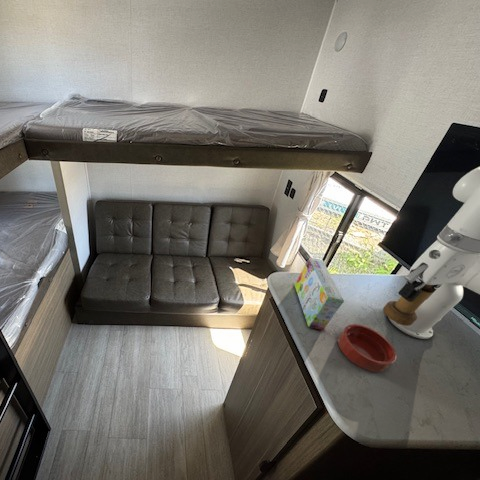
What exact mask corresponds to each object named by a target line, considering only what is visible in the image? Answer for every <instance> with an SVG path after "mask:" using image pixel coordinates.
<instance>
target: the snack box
mask: <svg viewBox="0 0 480 480" xmlns="http://www.w3.org/2000/svg"><path fill="white" fill-rule="evenodd" d="M294 288H295V291H296V294H297V298H298V300H299V303H300V306H301V309H302V313H303V315H304V319H305V322H306V324H307V327H308V328H312V329H316V330H320V331H324V329H325V328H326V326H328V324H329V322H330V321H332V318H334V316H335V315H336V313H337V311H338V310H339V309H340V307H341V306H342V305H343V304H344V303H345V299H344V297H343V295H342V293H341V292H340V289H339V288H338V286H337V285H336V282H335V281H334V278H333V276H332V274H331V273H330V271H329V269H328V267H327V265H326V263H325V262H324V260H323V259H320V258H314V257H313V258H312V257H308V258H307V261H306V262H305V264H304V266H303V268H302V270H301V272H300V274H299V275H298V278H297V280H296V281H295V284H294Z"/></svg>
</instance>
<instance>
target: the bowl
mask: <svg viewBox="0 0 480 480" xmlns="http://www.w3.org/2000/svg"><path fill="white" fill-rule="evenodd" d="M337 344H338V347H339V348H340V351H341V352H342V353H343V354H344V356H345V357H346V358H347V359H348V360H349V361H351V362H352V363H353V364H355V365H356V366H358V367H359V368H361V369H364V370H367V371H369V372H374V373H380V372H385V370H387V369H388V368H389V367H390V366H391V365H393V363H394V362H396V360H397V353H396V349H395V348H394V347H393V345H392V343H391V342H390V341H389V340H388V339H387V338H386V337H385V336H384V335H382V334H381V333H379V332H378V331H376V330H375V329H373V328H371V327H368V326H365V325H362V324H356V323H354V324H353V323H352V324H349V325H347V326H345V327H344V329H343V330H342V331H341V333H340V334H339V335H338V338H337Z"/></svg>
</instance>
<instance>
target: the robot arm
mask: <svg viewBox="0 0 480 480" xmlns="http://www.w3.org/2000/svg"><path fill="white" fill-rule="evenodd" d="M452 196H453V198H455V199H456V200H457V201H459V202H461V203H463V204H462V206H461V207H460V208H459V210H458V211H457V212H456V213H455V214H454V216H452V218H451V219H450V220H449V221H448V223H447V224H446V225H445V226H444V227H443V228H442V230H441V231H440V232H439V234H438V235H437V236H436V240H435V241H434V242H433V243H432V244H431V245H430V246H429V247H428V248H427V249H425V251H424V252H423V253H422V254H421V255H420V256H419V257H418V258H417V259H416V261H415V262H414V263H413V264H412V266H411V267H410V268H409V273H408V274H407V275H405V276H404V280H406V281H405V284H403V286H402V288H400V290H399V291H398V295H399V296H401V297H403V298H404V299H406V300H407V301H408V302H412V301H413V300H414V299H415V298H416V297H417V296H418V294H419V293H420V292H421V291H420V289H421V288H423V287H424V286H425V285H426V284H427V285H432V286H431V288H432V289H433V290H434V292H433V293H432V294H431V295H430V296H429V297H428V298H427V299H426V300H425V301H424V302H423V303H422V304H421V305H420V306H419V307H418V308H417V310H416V311H415V313H416V315H417V319H416V320H415V321H414V322H413V324H412V325H409V326H406V325H401V324H399V323H397V322H395V321H393V320H391V319H390V318H389V317H388V316H387V318H388V320H389V321H390V322H391V324H392V325H393V326H394V327H396V328H397V329H398V330H399V331H400V332H403V333H404V334H406V335H408V336H410V337H413V338H416V339H421V340H428V339H430V338H431V337H432V336H433V335H434V330H433V327H434V326H435V325H436V324H437V323H439V322H441V321H442V318H444V316H446V315H447V314H448V313H449V312H450V311H451V310H452V309H454V307H455V306H456V305H458V304H459V303H460V302H461V301H462V299H463V298H464V288H467V289H468V290H470V291H471V292H474V293H476V294H478V295H480V166H478V167H476V168H474V169H472V170H470V171H469V172H467V173H466V174H465V175H463V176H462V177H461V178H460V179H459V180H458V181H457V182H456V183H455V185H454V187H453V189H452ZM417 280H419V281H417ZM418 282H421V283H420V284H419V283H418Z"/></svg>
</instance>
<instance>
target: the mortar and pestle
mask: <svg viewBox="0 0 480 480" xmlns="http://www.w3.org/2000/svg"><path fill="white" fill-rule="evenodd" d="M417 282H418V283H419V284H420V283H421V281H417ZM431 286H432V285H427V284H426V285H425V286H424V287H423V288H421V289H420V291H421V292H420V293H419V294H418V296H417V297H416V298H415V299H414V300H413V301H412V302H408V301H407V300H406V299H404V298H403V297H402V296H401V297H399V299H397V300H389V301H387V303H386V304H385V305H384V306H383V308H382V311H383V313H384V314H385V316H386V317H387V318H388V317H389V318H390V319H391V320H393V321H395V322H397V323H399V324H401V325H406V326H409V325H412V324H413V322H414V321H415V320H416V319H417V315H416V313H415V311H416V310H417V308H418V307H419V306H420V305H421V304H422V303H423V302H424V301H425V300H426V299H427V298H428V297H429V296H430V295H431V294H432V293H433V292H434V290H433V289H432V288H431ZM389 318H388V319H389Z"/></svg>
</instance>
